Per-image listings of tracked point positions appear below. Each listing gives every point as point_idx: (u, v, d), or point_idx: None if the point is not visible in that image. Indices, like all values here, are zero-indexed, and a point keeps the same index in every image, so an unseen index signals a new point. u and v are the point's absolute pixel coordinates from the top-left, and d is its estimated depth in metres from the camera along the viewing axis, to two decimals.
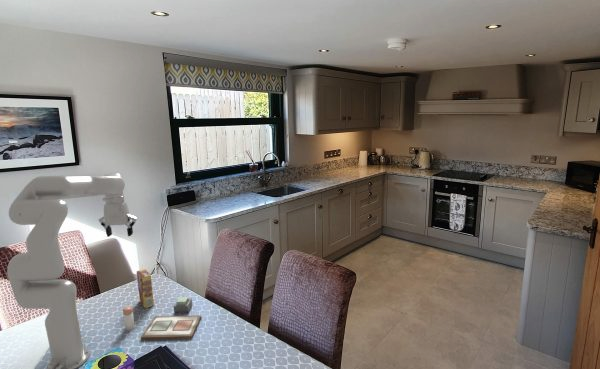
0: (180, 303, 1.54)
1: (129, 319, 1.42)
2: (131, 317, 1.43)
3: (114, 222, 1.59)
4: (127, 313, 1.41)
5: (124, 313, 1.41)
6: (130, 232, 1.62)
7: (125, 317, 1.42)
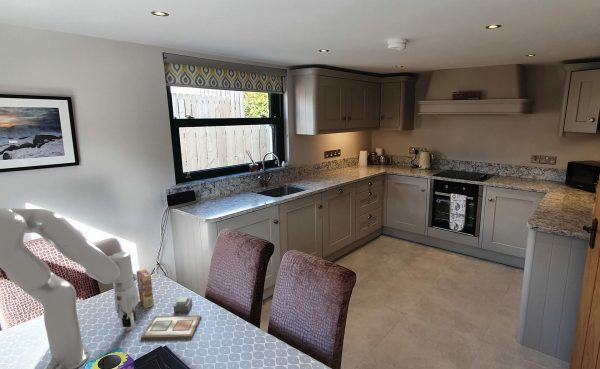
0: (180, 303, 1.54)
1: None
2: (131, 317, 1.43)
3: (133, 304, 1.42)
4: None
5: (124, 313, 1.41)
6: None
7: None
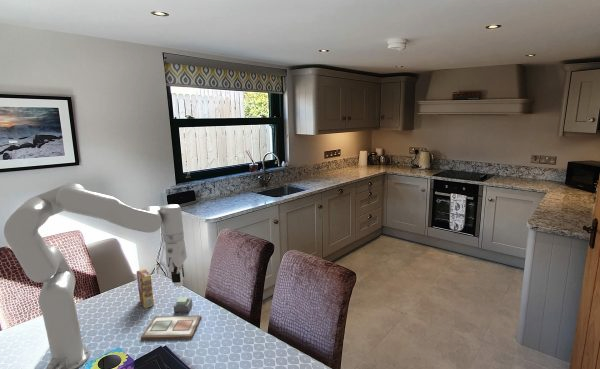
0: (180, 303, 1.54)
1: None
2: (180, 272, 1.38)
3: (183, 259, 1.37)
4: None
5: (174, 268, 1.36)
6: None
7: None
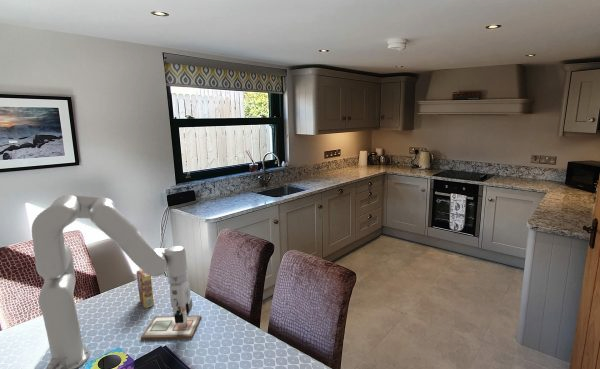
0: None
1: (183, 315, 1.41)
2: (185, 314, 1.41)
3: (187, 299, 1.41)
4: None
5: None
6: None
7: None
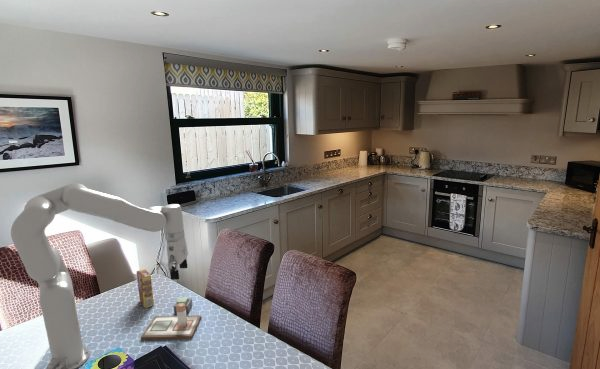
0: None
1: (183, 315, 1.41)
2: (184, 314, 1.41)
3: (184, 257, 1.43)
4: (181, 310, 1.40)
5: (178, 310, 1.40)
6: None
7: (179, 314, 1.40)
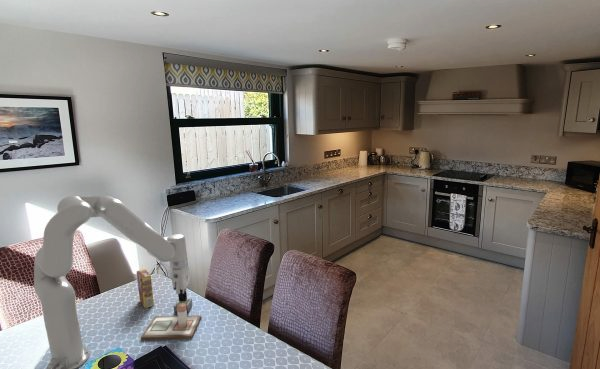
0: None
1: (184, 316, 1.41)
2: (185, 314, 1.41)
3: (187, 282, 1.54)
4: (182, 310, 1.40)
5: (179, 310, 1.40)
6: None
7: (180, 314, 1.40)
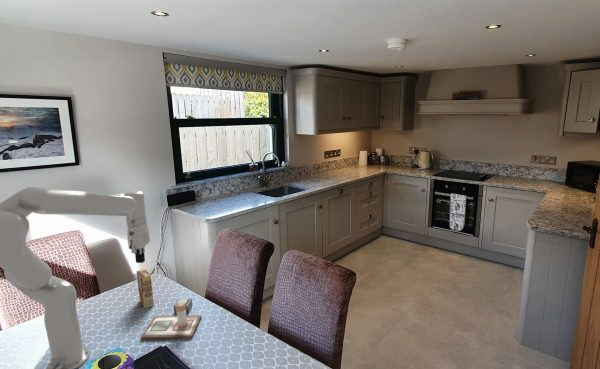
0: None
1: (183, 315, 1.41)
2: (184, 313, 1.42)
3: (145, 243, 1.47)
4: (181, 309, 1.40)
5: (178, 310, 1.40)
6: None
7: (179, 314, 1.40)
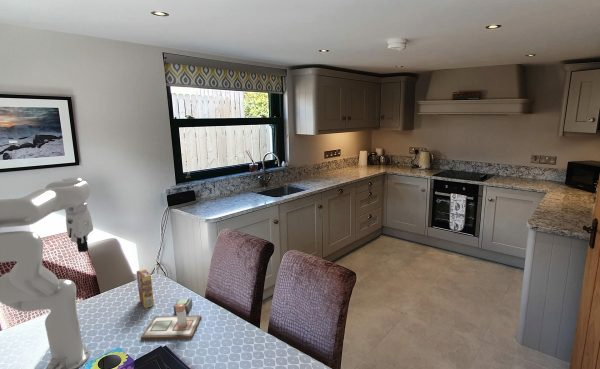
0: None
1: (183, 315, 1.41)
2: (184, 313, 1.42)
3: (86, 231, 1.42)
4: (181, 310, 1.40)
5: (178, 310, 1.40)
6: None
7: (179, 314, 1.40)
